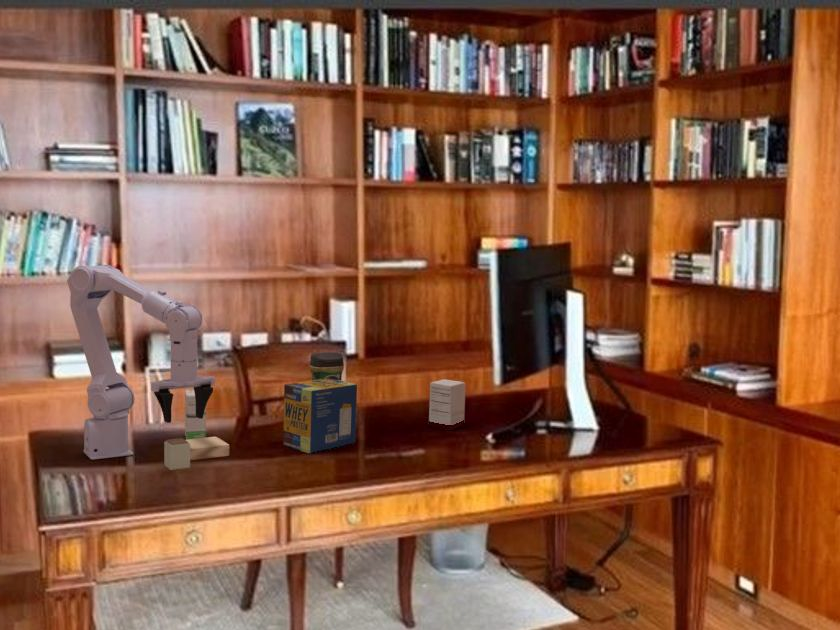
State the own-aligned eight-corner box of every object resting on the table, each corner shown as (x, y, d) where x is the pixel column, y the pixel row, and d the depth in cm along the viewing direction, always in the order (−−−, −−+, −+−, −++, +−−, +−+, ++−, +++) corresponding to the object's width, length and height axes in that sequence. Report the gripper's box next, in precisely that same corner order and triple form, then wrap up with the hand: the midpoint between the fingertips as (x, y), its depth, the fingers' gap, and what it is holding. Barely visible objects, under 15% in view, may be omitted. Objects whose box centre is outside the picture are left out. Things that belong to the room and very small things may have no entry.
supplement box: (442, 422, 244) (444, 378, 243) (464, 426, 240) (466, 382, 239) (427, 427, 238) (429, 382, 237) (450, 431, 234) (451, 385, 233)
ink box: (206, 441, 215) (206, 395, 214) (186, 442, 214) (186, 395, 212) (204, 433, 223) (204, 388, 222) (184, 434, 222) (184, 389, 221)
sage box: (170, 470, 190) (170, 443, 189) (164, 465, 193) (164, 439, 193) (190, 467, 192) (190, 441, 192) (183, 462, 196) (183, 437, 195)
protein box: (282, 445, 213) (283, 384, 212) (329, 436, 225) (330, 377, 223) (309, 454, 206) (310, 390, 205) (356, 443, 218) (358, 383, 216)
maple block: (191, 461, 198) (191, 449, 198) (179, 452, 206) (179, 440, 205) (229, 457, 203) (229, 444, 203) (215, 448, 211) (215, 436, 210)
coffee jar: (336, 412, 253) (337, 350, 251) (346, 418, 246) (348, 353, 244) (305, 415, 249) (306, 351, 247) (314, 420, 242) (316, 355, 240)
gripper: (160, 365, 185) (160, 427, 187) (221, 360, 195) (221, 419, 196) (147, 360, 191) (147, 421, 192) (207, 356, 200) (206, 413, 202)
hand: (183, 419), depth 195 cm, fingers open, 7 cm apart
